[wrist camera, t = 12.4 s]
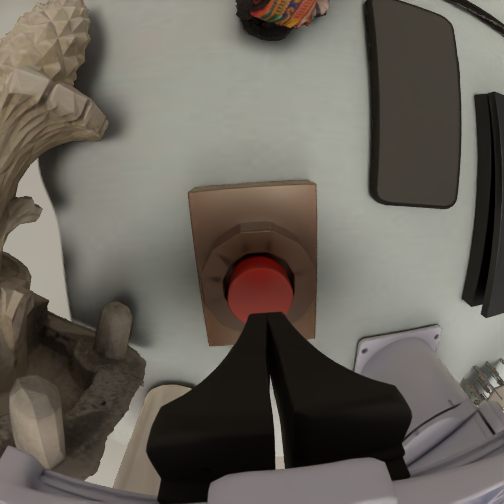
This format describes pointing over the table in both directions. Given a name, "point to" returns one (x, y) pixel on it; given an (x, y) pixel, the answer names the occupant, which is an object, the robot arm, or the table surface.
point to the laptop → (482, 207)
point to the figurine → (278, 16)
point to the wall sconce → (17, 274)
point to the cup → (135, 459)
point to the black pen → (480, 14)
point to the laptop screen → (497, 215)
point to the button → (259, 288)
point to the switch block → (254, 246)
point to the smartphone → (414, 106)
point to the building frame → (499, 394)
